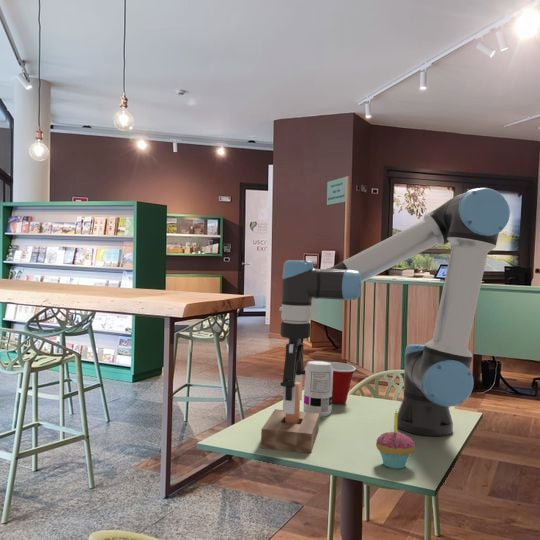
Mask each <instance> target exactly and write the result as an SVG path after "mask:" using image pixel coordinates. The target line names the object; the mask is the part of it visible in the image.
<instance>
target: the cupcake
mask: <svg viewBox="0 0 540 540" xmlns="http://www.w3.org/2000/svg"><path fill="white" fill-rule="evenodd" d="M397 413H398V412H394V422H393V423H394V425H393V426H394V428H393V431H390V432H384V433H382V434H380V435H379V436H378V437H377V439H376V442H375V443H376V444H375V446H376V449H377V450H378V452H379V453H380V455H381V459H382V462H383V465H384V466H385V467H388V468H389V469H390V468H391V469H399V470H400V469H403V468H405V467H406V465H407V463H408V459H409V457H410V455H411V454H414V452H415V450H416V443H415V442H414V440H413V439H412V437H410V436H408V435H407V434H404V433H402V432H398V427H397Z"/></svg>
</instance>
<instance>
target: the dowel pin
mask: <svg viewBox="0 0 540 540" xmlns="http://www.w3.org/2000/svg"><path fill="white" fill-rule="evenodd" d="M300 386H301V383H299V382H295V409H294V414H287V413H285V423H290V424H299V411H300V412H301V409H300V408H301V407H300V406H301V404H300V403H301V400H300Z"/></svg>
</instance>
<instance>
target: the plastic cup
mask: <svg viewBox="0 0 540 540" xmlns="http://www.w3.org/2000/svg"><path fill="white" fill-rule="evenodd" d="M329 362H330V363H331V366H332V368H333V385H332V405H345V404H346V403H347V399H348V394H349V391H350V386H351V382H352V378H353V375H354V373H355V372H356V367H355V366H353V365H351V364H349V363H344V362H336V361H329Z"/></svg>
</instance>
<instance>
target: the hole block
mask: <svg viewBox="0 0 540 540" xmlns="http://www.w3.org/2000/svg"><path fill="white" fill-rule="evenodd" d="M319 428H320V417H319V413H311V412H304V411H301V410H300V411H299V424H290V423H285V413H283V409H278V408H277V409H274V410H273V411H272V413H271V414H270V416H269V417H268V419H267V421H266V422H265V423H264V425H263V426H262V427H261V430H260V432H261V433H260V435H261V437H260V448H261V449H267V450H268V449H269V450H279V451H287V452H296V453H297V452H298V453H306V454H309V453H310V454H311V453H312V451H313V448H314V445H315V442H316V439H317V436H318V433H319V432H320V431H319V430H320V429H319Z"/></svg>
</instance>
